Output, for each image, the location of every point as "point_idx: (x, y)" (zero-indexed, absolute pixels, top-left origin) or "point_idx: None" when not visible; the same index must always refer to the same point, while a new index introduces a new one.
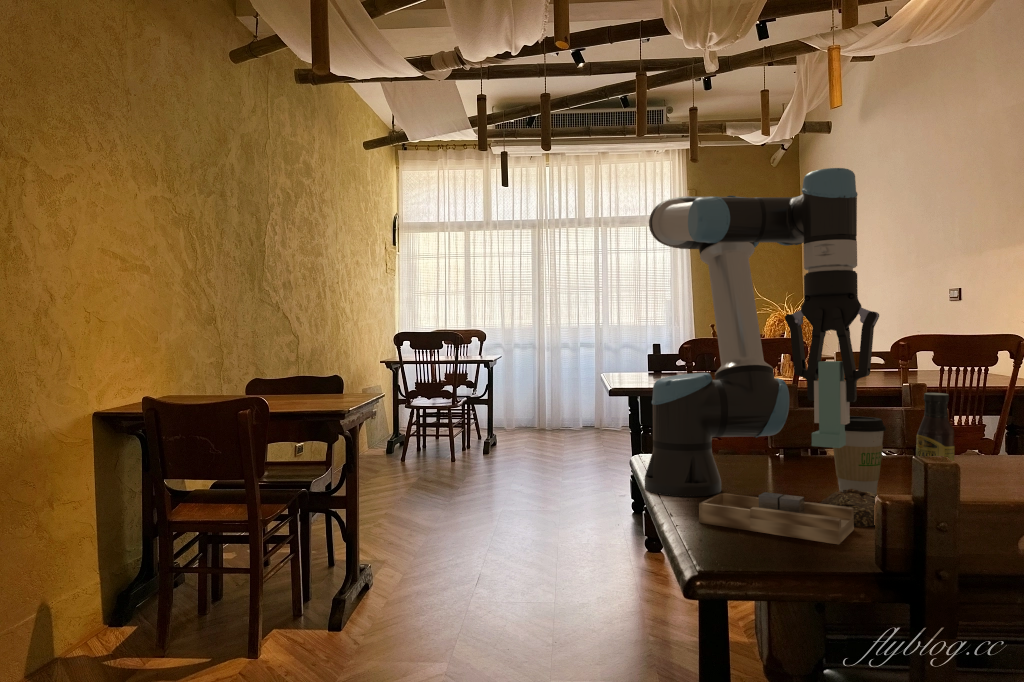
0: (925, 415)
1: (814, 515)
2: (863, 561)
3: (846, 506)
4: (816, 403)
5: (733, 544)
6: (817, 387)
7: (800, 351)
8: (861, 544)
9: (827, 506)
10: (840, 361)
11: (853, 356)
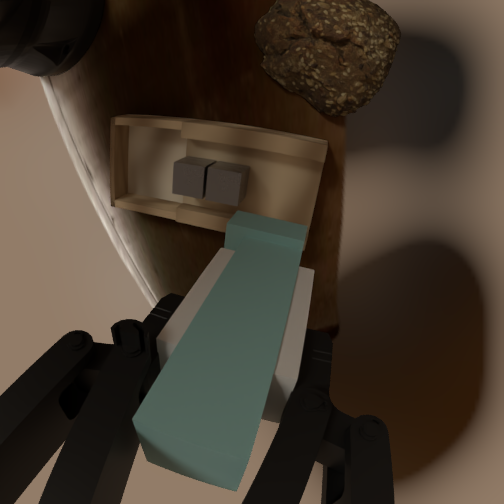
0: None
1: None
2: (332, 294)
3: (313, 79)
4: None
5: (190, 276)
6: None
7: (51, 451)
8: (336, 222)
9: (283, 153)
10: (234, 471)
11: (299, 502)
